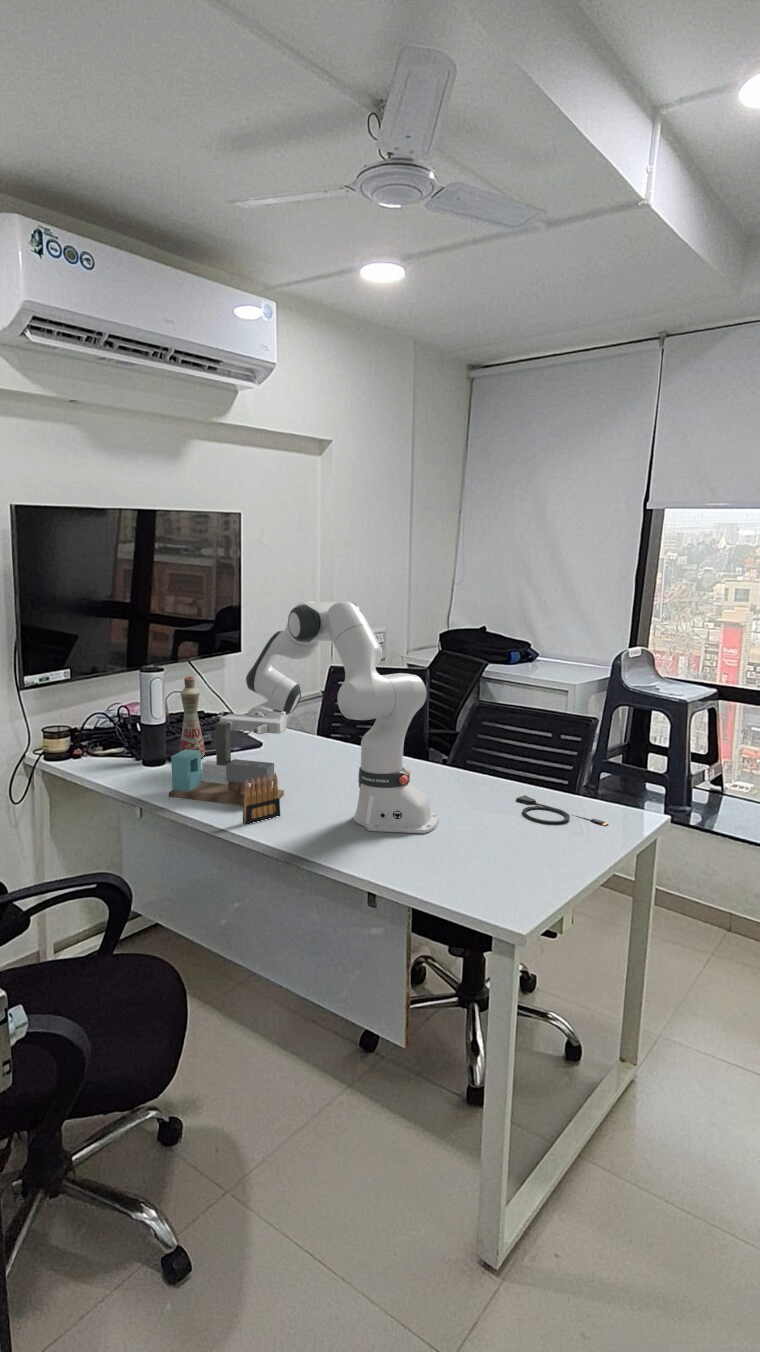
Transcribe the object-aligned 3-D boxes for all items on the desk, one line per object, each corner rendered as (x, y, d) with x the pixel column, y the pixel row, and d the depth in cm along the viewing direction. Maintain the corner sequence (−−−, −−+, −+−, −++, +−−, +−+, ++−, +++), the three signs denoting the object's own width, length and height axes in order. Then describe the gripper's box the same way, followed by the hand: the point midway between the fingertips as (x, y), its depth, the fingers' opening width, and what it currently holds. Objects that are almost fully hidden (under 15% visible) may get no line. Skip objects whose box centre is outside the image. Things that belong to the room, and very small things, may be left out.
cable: (579, 838, 197) (579, 833, 197) (493, 809, 218) (493, 804, 218) (608, 826, 206) (608, 821, 206) (523, 799, 227) (523, 794, 227)
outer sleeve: (274, 779, 222) (274, 763, 221) (267, 785, 217) (266, 767, 216) (234, 775, 225) (234, 759, 224) (226, 780, 220) (226, 763, 219)
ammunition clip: (246, 825, 202) (245, 780, 200) (242, 823, 203) (241, 779, 201) (280, 816, 209) (280, 773, 207) (276, 814, 210) (276, 771, 208)
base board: (284, 795, 226) (283, 776, 225) (267, 808, 214) (266, 789, 213) (189, 784, 234) (189, 767, 233) (168, 797, 222) (168, 778, 221)
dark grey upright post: (268, 777, 221) (267, 725, 218) (263, 780, 218) (262, 728, 215) (207, 771, 226) (206, 720, 223) (202, 774, 223) (201, 722, 220)
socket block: (201, 783, 230) (200, 750, 228) (187, 791, 222) (186, 758, 221) (186, 781, 231) (185, 749, 230) (172, 790, 224) (171, 756, 222)
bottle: (204, 753, 267) (202, 673, 262) (207, 760, 259) (205, 678, 254) (178, 755, 265) (175, 674, 260) (180, 762, 256) (177, 679, 251)
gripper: (230, 707, 247) (209, 716, 234) (290, 712, 242) (272, 721, 229) (231, 726, 249) (210, 736, 235) (290, 731, 243) (272, 742, 230)
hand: (241, 729), depth 232 cm, fingers open, 8 cm apart
